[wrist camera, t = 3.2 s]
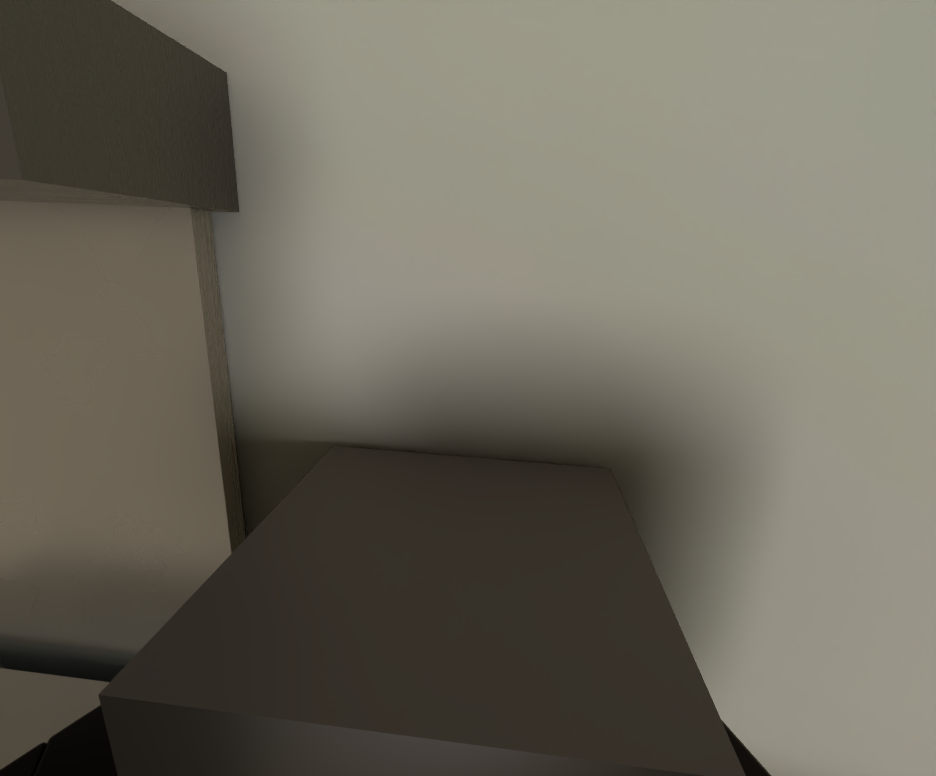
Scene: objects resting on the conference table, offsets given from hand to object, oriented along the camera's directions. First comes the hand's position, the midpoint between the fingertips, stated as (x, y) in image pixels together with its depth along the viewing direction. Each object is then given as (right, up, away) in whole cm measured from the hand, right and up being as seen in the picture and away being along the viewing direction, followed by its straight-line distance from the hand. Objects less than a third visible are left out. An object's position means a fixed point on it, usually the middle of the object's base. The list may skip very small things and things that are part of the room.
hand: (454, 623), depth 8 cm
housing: (0, 0, +1) cm, 1 cm away
